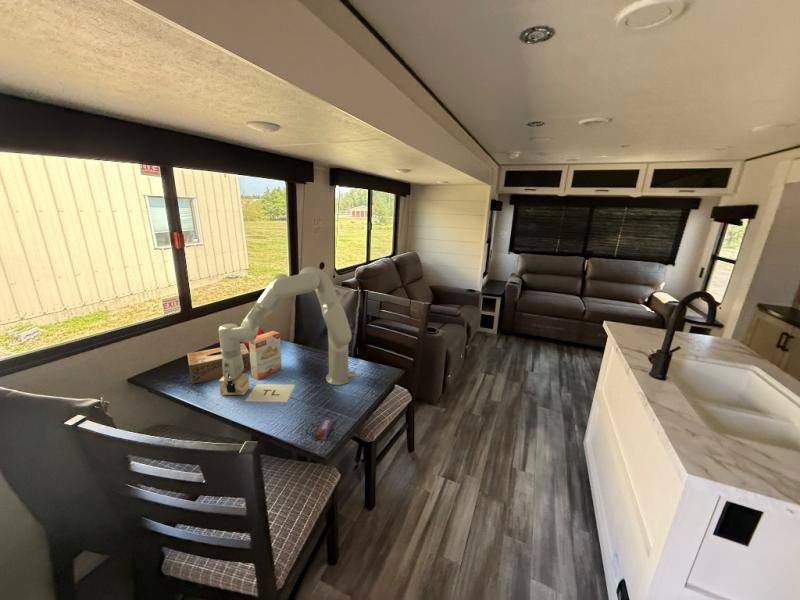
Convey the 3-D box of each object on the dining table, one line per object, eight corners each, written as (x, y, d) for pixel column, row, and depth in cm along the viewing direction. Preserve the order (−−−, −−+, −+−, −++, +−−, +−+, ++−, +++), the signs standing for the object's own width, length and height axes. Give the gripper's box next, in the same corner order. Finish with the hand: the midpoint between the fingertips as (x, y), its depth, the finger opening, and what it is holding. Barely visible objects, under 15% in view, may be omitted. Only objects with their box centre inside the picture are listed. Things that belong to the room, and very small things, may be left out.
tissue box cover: (191, 384, 144) (189, 365, 141) (189, 371, 155) (187, 353, 152) (251, 370, 159) (249, 352, 156) (245, 359, 170) (243, 343, 167)
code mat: (295, 384, 147) (295, 384, 147) (286, 401, 134) (286, 401, 134) (257, 384, 146) (257, 384, 146) (244, 401, 133) (244, 401, 132)
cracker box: (258, 380, 149) (255, 341, 144) (251, 376, 152) (247, 338, 147) (282, 369, 161) (280, 332, 155) (275, 366, 164) (273, 329, 158)
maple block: (249, 387, 142) (248, 373, 140) (243, 394, 136) (242, 380, 134) (227, 387, 141) (225, 373, 139) (220, 394, 135) (218, 380, 133)
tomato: (258, 353, 177) (256, 332, 174) (240, 350, 180) (238, 329, 177) (271, 345, 188) (269, 325, 185) (253, 342, 191) (252, 323, 187)
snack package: (323, 416, 124) (335, 417, 123) (324, 420, 124) (335, 421, 124) (312, 435, 113) (325, 437, 112) (312, 440, 113) (325, 442, 113)
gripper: (230, 361, 125) (234, 399, 130) (248, 343, 142) (251, 378, 147) (211, 360, 125) (216, 399, 130) (231, 343, 141) (235, 378, 146)
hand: (235, 387), depth 138 cm, fingers open, 6 cm apart
